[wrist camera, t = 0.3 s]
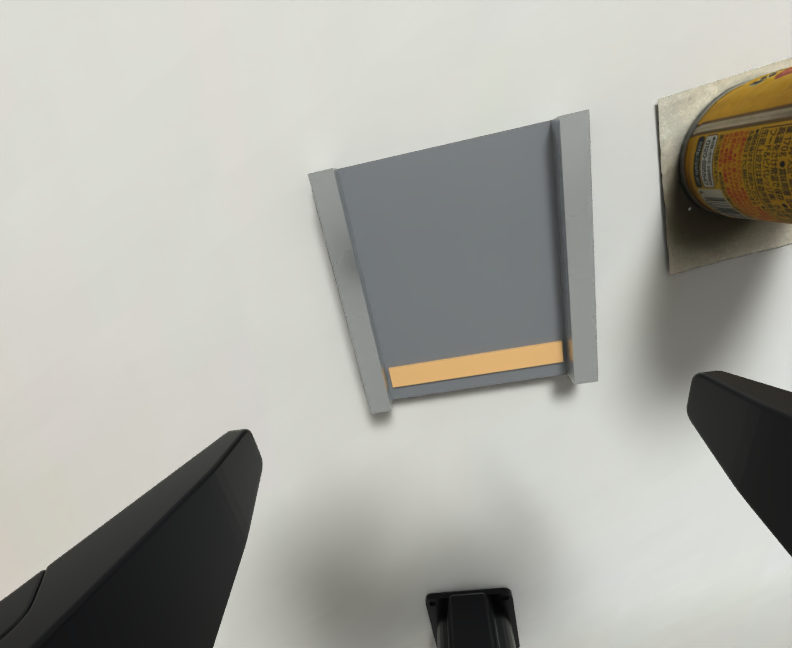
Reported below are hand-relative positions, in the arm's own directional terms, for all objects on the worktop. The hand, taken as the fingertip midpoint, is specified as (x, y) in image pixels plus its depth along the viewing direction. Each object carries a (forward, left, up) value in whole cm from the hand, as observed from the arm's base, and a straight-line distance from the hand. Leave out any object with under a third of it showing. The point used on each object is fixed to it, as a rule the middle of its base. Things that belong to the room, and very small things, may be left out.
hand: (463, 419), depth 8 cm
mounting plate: (0, -1, -14) cm, 14 cm away
